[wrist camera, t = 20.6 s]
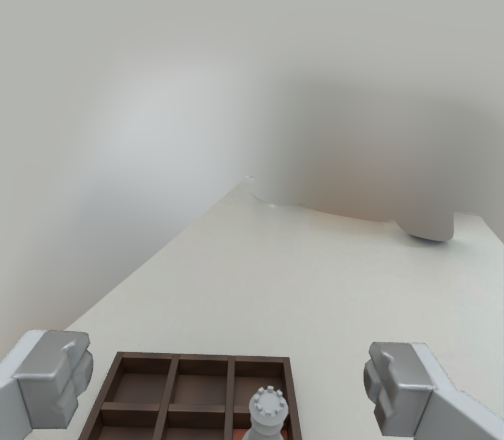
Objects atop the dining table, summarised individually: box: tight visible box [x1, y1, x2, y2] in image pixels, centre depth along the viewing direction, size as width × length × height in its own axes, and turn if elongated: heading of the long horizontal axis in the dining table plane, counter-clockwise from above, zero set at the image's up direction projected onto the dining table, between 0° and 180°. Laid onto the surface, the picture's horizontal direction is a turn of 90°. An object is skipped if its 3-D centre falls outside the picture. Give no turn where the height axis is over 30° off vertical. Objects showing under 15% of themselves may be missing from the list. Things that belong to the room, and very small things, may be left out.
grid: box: [78, 352, 302, 440], centre depth 34 cm, size 20×13×3 cm
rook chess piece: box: [242, 386, 288, 440], centre depth 29 cm, size 4×4×8 cm
